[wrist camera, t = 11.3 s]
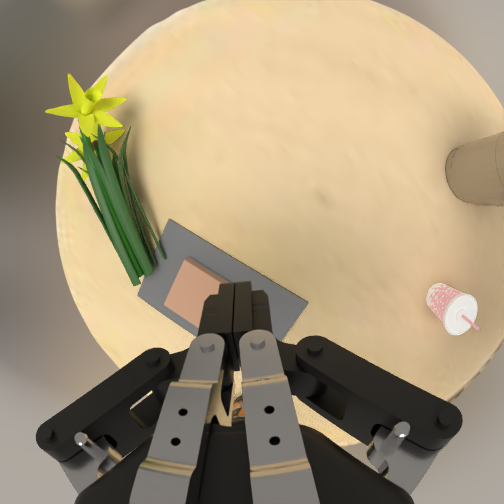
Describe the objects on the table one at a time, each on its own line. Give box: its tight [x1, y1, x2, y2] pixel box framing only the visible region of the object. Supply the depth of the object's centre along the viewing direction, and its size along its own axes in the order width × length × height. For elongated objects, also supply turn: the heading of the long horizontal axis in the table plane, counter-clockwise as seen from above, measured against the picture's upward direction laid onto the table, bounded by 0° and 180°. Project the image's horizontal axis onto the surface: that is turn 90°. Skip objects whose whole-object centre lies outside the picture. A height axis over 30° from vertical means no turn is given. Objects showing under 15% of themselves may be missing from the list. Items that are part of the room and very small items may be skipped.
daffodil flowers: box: [45, 74, 166, 286], centre depth 37 cm, size 17×15×35 cm
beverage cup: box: [426, 283, 480, 335], centre depth 30 cm, size 6×6×14 cm
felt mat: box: [137, 219, 308, 341], centre depth 44 cm, size 26×16×1 cm, turn 61°
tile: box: [164, 257, 231, 328], centre depth 43 cm, size 2×9×11 cm
